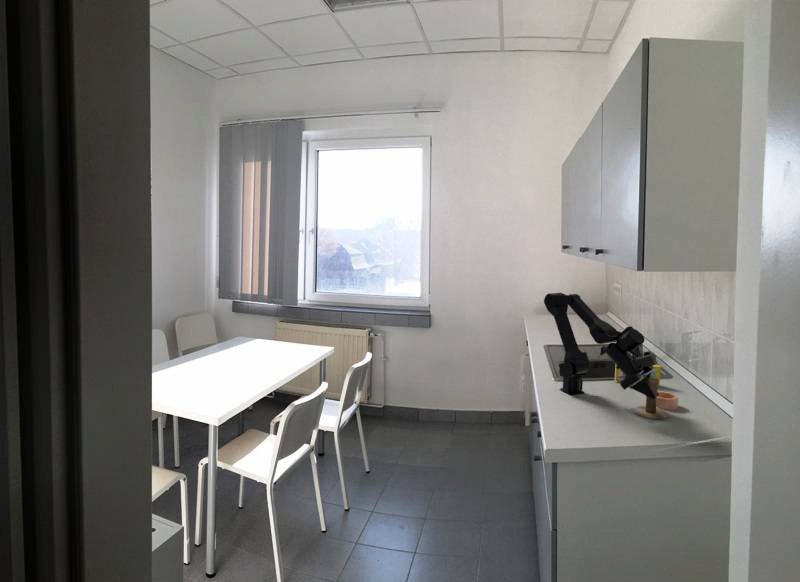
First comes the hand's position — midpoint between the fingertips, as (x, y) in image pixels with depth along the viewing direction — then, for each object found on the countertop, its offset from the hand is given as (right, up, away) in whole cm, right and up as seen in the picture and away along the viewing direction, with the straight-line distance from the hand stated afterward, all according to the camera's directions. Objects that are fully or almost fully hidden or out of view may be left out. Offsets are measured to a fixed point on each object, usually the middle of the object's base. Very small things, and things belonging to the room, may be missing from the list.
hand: (656, 397), depth 151 cm
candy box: (+11, -3, +35) cm, 37 cm away
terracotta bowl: (+8, -5, +10) cm, 14 cm away
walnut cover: (-1, -6, +2) cm, 6 cm away
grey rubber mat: (-1, -6, +2) cm, 7 cm away
